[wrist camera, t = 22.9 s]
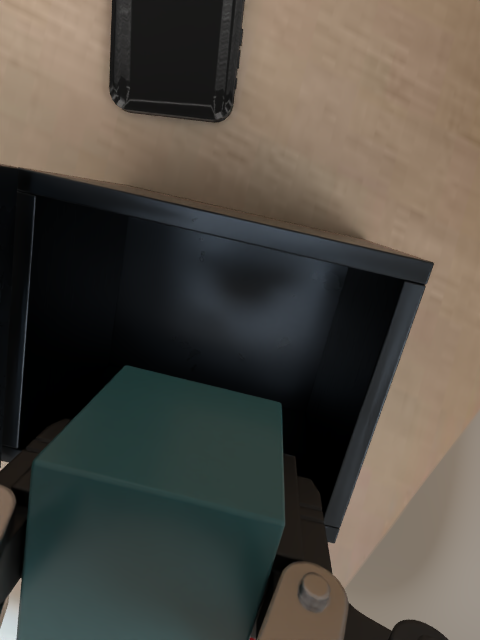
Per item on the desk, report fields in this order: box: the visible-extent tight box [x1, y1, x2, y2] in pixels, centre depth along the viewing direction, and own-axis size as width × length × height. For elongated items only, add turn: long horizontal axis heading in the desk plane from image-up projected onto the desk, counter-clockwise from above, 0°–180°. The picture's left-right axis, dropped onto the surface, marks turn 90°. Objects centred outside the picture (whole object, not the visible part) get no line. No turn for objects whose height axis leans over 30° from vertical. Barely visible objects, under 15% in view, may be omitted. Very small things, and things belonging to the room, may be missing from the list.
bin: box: [1, 167, 434, 543], centre depth 23 cm, size 17×14×12 cm
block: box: [17, 366, 285, 640], centre depth 10 cm, size 4×4×4 cm
